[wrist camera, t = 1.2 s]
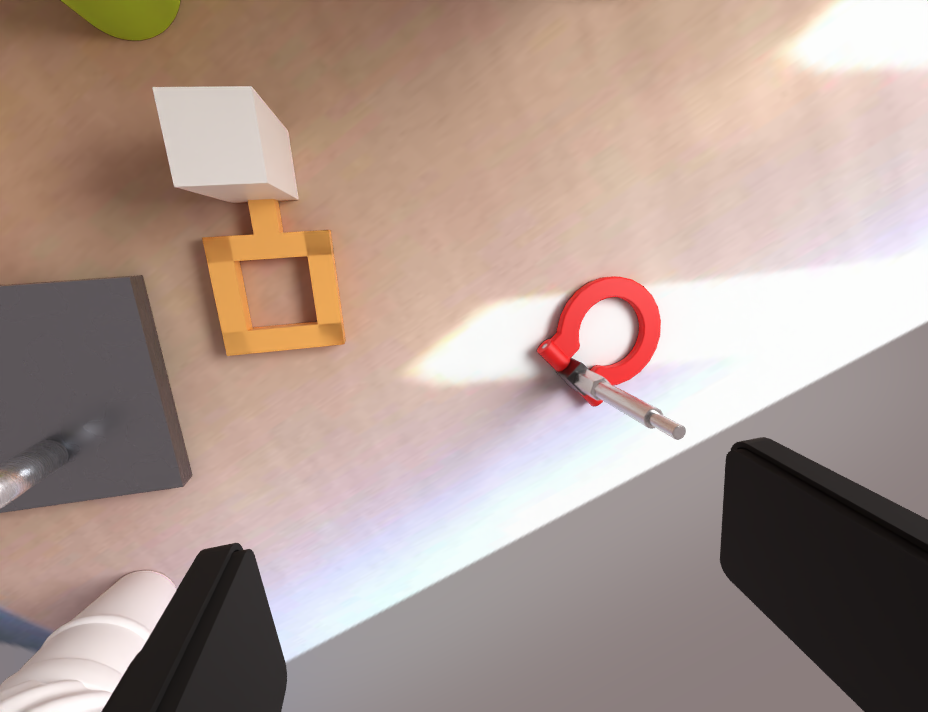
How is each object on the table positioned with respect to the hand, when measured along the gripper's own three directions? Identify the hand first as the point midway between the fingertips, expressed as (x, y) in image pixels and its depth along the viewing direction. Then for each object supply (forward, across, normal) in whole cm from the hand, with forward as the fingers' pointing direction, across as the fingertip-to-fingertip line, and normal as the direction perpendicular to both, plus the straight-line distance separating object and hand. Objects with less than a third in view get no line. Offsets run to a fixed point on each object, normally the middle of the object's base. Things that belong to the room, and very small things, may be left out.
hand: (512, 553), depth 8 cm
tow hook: (+24, -14, +3) cm, 28 cm away
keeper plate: (+24, +24, +1) cm, 34 cm away
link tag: (+24, +9, -7) cm, 26 cm away
